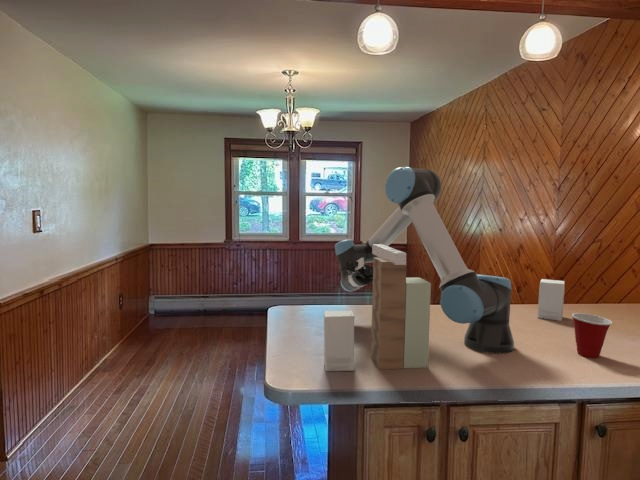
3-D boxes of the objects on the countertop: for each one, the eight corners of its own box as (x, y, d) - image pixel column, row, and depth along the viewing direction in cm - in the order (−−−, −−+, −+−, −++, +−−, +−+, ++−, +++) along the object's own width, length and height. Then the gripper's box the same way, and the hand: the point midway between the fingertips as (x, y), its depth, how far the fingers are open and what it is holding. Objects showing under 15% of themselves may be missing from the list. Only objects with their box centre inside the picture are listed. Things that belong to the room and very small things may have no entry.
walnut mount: (370, 357, 133) (373, 257, 131) (393, 356, 134) (396, 257, 132) (378, 369, 125) (381, 261, 122) (403, 368, 126) (406, 261, 123)
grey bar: (372, 253, 140) (372, 244, 140) (381, 253, 141) (381, 244, 141) (394, 264, 117) (395, 253, 116) (406, 264, 117) (406, 253, 117)
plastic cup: (611, 363, 131) (614, 323, 130) (569, 357, 137) (571, 318, 135) (608, 353, 141) (611, 315, 140) (569, 347, 146) (571, 310, 145)
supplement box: (562, 321, 178) (564, 284, 176) (537, 318, 182) (539, 281, 181) (563, 316, 185) (565, 280, 184) (538, 313, 190) (541, 278, 188)
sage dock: (394, 356, 134) (396, 277, 132) (416, 356, 135) (419, 277, 133) (403, 368, 126) (406, 283, 123) (427, 367, 126) (430, 283, 124)
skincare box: (352, 363, 129) (353, 309, 127) (354, 372, 122) (355, 316, 121) (322, 363, 128) (323, 309, 127) (323, 372, 122) (324, 315, 121)
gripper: (393, 288, 164) (419, 278, 145) (327, 283, 159) (345, 272, 139) (393, 268, 167) (418, 255, 147) (328, 262, 161) (345, 248, 141)
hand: (383, 263), depth 143 cm, fingers open, 13 cm apart
